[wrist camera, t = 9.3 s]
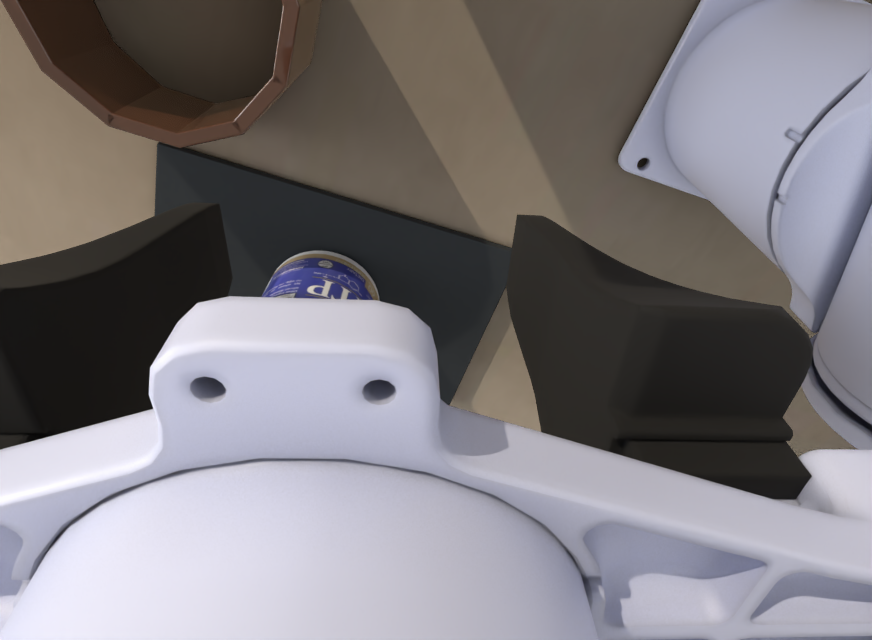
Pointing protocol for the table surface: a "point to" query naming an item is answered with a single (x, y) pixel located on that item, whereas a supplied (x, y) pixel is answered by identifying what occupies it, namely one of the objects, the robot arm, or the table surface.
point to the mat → (346, 247)
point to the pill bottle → (321, 278)
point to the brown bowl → (134, 88)
